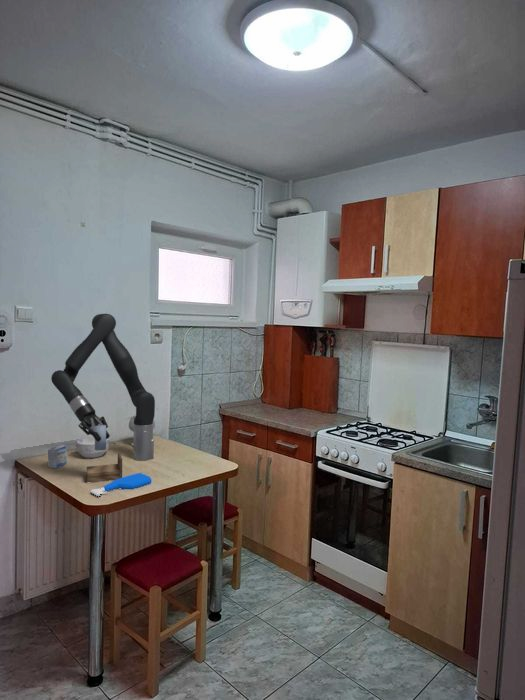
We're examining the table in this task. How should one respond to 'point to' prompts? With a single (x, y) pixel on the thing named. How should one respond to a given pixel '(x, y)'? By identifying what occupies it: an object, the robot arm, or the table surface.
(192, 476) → the table surface
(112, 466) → the shelf step
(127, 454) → the table surface
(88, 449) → the paper bowls
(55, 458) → the medicine box
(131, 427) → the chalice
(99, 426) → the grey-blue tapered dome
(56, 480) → the table surface
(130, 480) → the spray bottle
